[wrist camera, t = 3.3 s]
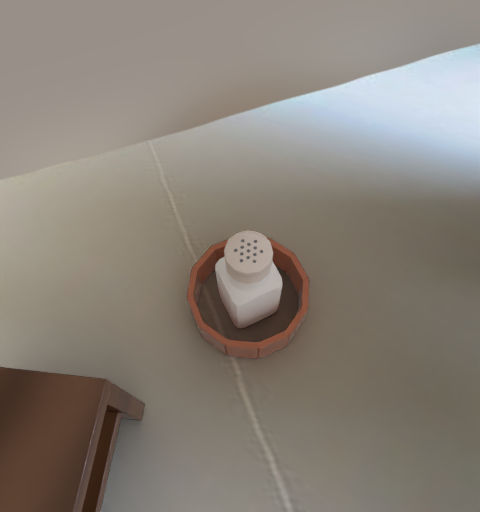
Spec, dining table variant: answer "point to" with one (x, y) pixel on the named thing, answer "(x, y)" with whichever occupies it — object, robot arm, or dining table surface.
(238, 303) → the pepper shaker
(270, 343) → the faceted terracotta ring
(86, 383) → the brown wooden box
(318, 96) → the dining table surface
